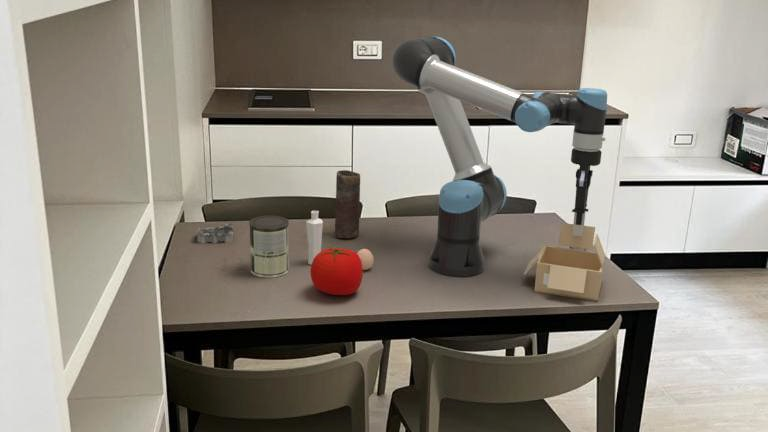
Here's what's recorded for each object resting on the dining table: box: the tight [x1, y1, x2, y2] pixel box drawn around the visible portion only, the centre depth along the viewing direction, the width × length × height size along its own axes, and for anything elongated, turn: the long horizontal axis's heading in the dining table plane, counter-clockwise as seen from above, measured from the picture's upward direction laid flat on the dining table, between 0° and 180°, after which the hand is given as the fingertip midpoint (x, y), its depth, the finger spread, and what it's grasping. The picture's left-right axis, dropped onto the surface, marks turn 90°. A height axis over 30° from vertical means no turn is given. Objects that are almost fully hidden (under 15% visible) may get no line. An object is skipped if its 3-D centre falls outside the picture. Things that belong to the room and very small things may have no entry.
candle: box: [334, 169, 361, 239], centre depth 238 cm, size 8×7×20 cm
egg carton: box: [196, 222, 234, 244], centre depth 235 cm, size 11×8×4 cm
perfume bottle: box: [305, 210, 324, 266], centre depth 217 cm, size 5×4×15 cm
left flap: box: [523, 247, 544, 276], centre depth 210 cm, size 1×8×6 cm
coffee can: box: [248, 214, 290, 279], centre depth 211 cm, size 10×10×14 cm
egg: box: [356, 248, 375, 271], centre depth 216 cm, size 5×5×6 cm
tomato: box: [310, 247, 364, 296], centre depth 200 cm, size 13×14×12 cm
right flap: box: [593, 233, 606, 266], centre depth 204 cm, size 1×8×6 cm, turn 159°
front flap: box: [547, 265, 587, 293], centre depth 200 cm, size 9×1×6 cm, turn 71°
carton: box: [533, 245, 606, 303], centre depth 208 cm, size 16×14×8 cm
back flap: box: [557, 222, 596, 250], centre depth 213 cm, size 9×1×6 cm, turn 71°
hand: (577, 235), depth 212 cm, fingers closed
